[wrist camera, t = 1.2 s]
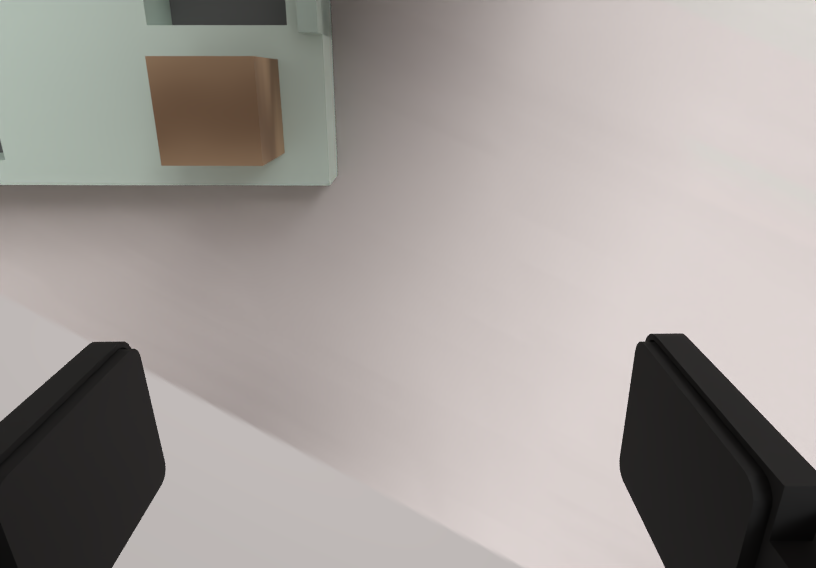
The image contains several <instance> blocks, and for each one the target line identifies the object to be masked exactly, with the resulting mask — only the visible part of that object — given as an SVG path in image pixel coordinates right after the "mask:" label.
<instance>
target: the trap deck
mask: <svg viewBox="0 0 816 568" xmlns="http://www.w3.org/2000/svg"><path fill="white" fill-rule="evenodd" d="M145 56H256V57H264V58H271V59H278V69H279V82H280V96H281V109H282V123H283V137H284V150H285V153H284V154H282V155H281V156H279V157H277V158H276V159H274V160H272V161H270V162H269V163H267V164H265V165H264V166H161V160H160V153H159V146H158V140H157V133H156V126H155V120H154V113H153V106H152V100H151V93H150V86H149V79H148V73H147V66H146V59H145ZM337 176H338V170H337V146H336V122H335V99H334V75H333V51H332V28H331V4H330V0H0V185H231V186H330V185H331V183H332V182H333V181H334V179H335V178H336V177H337Z"/></svg>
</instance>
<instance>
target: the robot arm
mask: <svg viewBox="0 0 816 568" xmlns="http://www.w3.org/2000/svg"><path fill="white" fill-rule="evenodd" d="M620 472H621V476H622V479H623V482H624V484H625V486H626V488H627V490H628V492H629V494H630V496H631V498H632V500H633V502H634V504H635V506H636V508H637V510H638V512H639V514H640V517H641V519H642V521H643V523H644V525H645V527H646V529H647V531H648V533H649V535H650V537H651V539H652V541H653V543H654V545H655V547H656V549H657V551H658V554H659V556H660V558H661V560H662V562H663V564H664V566H665V568H816V470H815V469H814V468H813V467H812V466H811V465H810V464H809V463H808V462H807V461H806V460H805V459H804V458H803V457H802V456H801V455H800V454H799V453H798V452H797V451H796V449H795V448H794V447H793V446H792V445H791V444H790V443H789V442H788V441H787V440H786V439H785V438H784V437H783V436H782V435H781V434H780V433H779V432H778V431H777V430H776V429H775V428H774V427H773V426H772V425H771V424H770V423H769V421H768V420H767V419H766V418H765V417H764V416H763V415H762V414H761V413H760V412H759V411H758V410H757V409H756V408H755V407H754V406H753V405H752V404H751V403H750V402H749V401H748V400H747V399H746V398H745V397H744V396H743V395H742V393H741V392H740V391H739V390H738V389H737V388H736V387H735V386H734V385H733V384H732V383H731V382H730V381H729V380H728V379H727V378H726V377H725V376H724V375H723V374H722V373H721V372H720V371H719V370H718V369H717V368H716V367H715V365H714V364H713V363H712V362H711V361H710V360H709V359H708V358H707V357H706V356H705V355H704V354H703V353H702V352H701V351H700V350H699V349H698V348H697V347H696V346H695V345H694V344H693V343H692V342H691V341H690V340H689V339H688V338H687V336H685V335H684V334H650V335H648V336H647V338H646V341H645V342H639V343H638V344H637V346H636V350H635V357H634V363H633V370H632V377H631V384H630V391H629V398H628V405H627V412H626V419H625V426H624V433H623V439H622V446H621V453H620ZM164 477H165V461H164V456H163V452H162V447H161V443H160V439H159V435H158V430H157V426H156V422H155V417H154V413H153V409H152V405H151V400H150V396H149V391H148V387H147V383H146V378H145V374H144V370H143V365H142V361H141V357H140V354H139V352H138V351H137V350H136V349H131V347H130V346H129V344H128V343H126V342H92V343H91V344H89V345H88V346H87V347H85V348H84V349H83V350H82V351H81V352H80V353H79V354H77V355H76V356H75V357H74V358H73V359H72V360H71V361H69V362H68V363H67V364H66V365H65V366H64V367H63V368H61V369H60V370H59V371H58V372H57V373H56V374H55V375H53V376H52V377H51V378H50V379H49V380H48V381H47V382H45V383H44V384H43V385H42V386H41V387H40V388H38V389H37V390H36V391H35V392H34V393H33V394H32V395H31V396H29V397H28V398H27V399H26V400H25V401H24V402H22V403H21V404H20V405H19V406H18V407H17V408H16V409H14V410H13V411H12V412H11V413H10V414H9V415H8V416H6V417H5V418H4V419H3V420H2V421H1V422H0V568H112V567H113V565H114V563H115V562H116V560H117V558H118V556H119V555H120V553H121V552H122V550H123V548H124V547H125V545H126V543H127V542H128V540H129V538H130V537H131V535H132V533H133V531H134V530H135V528H136V526H137V525H138V523H139V521H140V520H141V518H142V516H143V515H144V513H145V511H146V510H147V508H148V506H149V505H150V503H151V501H152V500H153V498H154V496H155V495H156V493H157V491H158V490H159V488H160V486H161V485H162V482H163V480H164Z"/></svg>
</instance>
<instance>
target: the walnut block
mask: <svg viewBox="0 0 816 568" xmlns="http://www.w3.org/2000/svg"><path fill="white" fill-rule="evenodd" d="M145 59H146V66H147V73H148V79H149V86H150V93H151V100H152V106H153V113H154V120H155V126H156V133H157V140H158V146H159V153H160V160H161V166H264V165H265V164H267V163H269V162H270V161H272V160H274V159H276V158H277V157H279V156H281V155H282V154H284V153H285V150H284V137H283V123H282V109H281V96H280V82H279V69H278V59H271V58H264V57H256V56H145Z"/></svg>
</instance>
